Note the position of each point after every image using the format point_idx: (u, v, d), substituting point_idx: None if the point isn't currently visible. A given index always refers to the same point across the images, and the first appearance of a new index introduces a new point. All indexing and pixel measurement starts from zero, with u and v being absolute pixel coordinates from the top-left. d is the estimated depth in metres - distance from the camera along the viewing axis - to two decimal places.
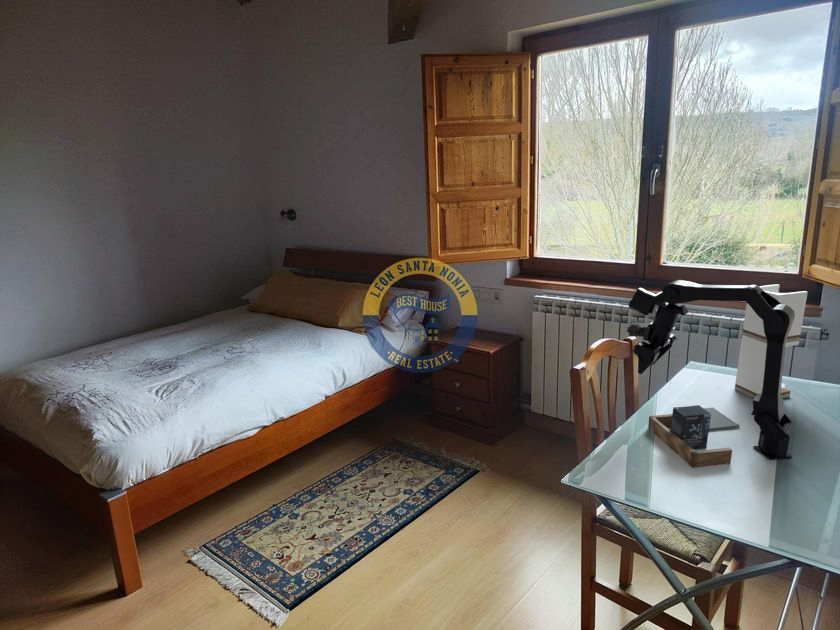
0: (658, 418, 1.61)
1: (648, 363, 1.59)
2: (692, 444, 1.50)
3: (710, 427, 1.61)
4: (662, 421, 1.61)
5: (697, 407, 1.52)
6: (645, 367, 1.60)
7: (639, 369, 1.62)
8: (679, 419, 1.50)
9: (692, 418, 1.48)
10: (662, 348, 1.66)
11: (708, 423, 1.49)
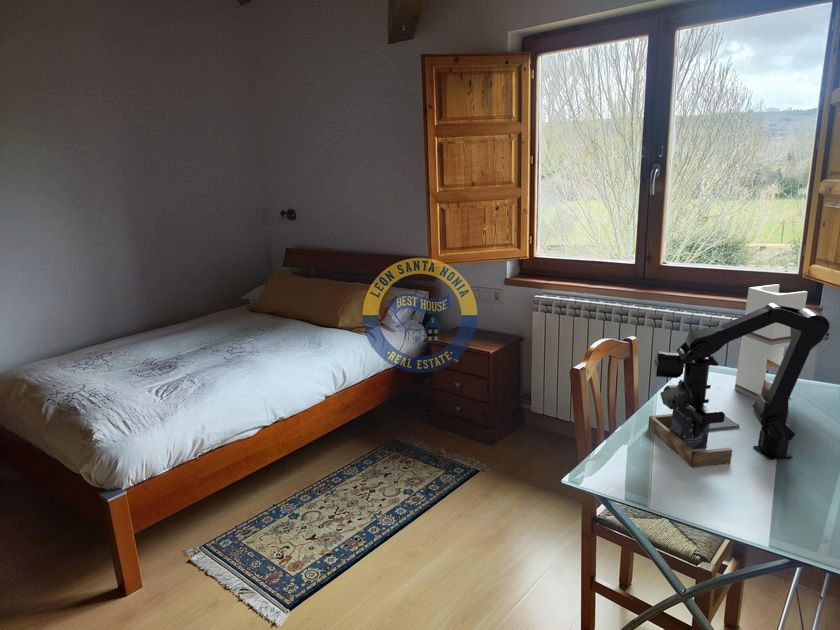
0: (658, 418, 1.61)
1: None
2: (692, 444, 1.50)
3: (710, 427, 1.61)
4: (662, 421, 1.61)
5: None
6: (703, 428, 1.48)
7: (697, 433, 1.48)
8: (679, 419, 1.50)
9: None
10: (688, 405, 1.54)
11: None
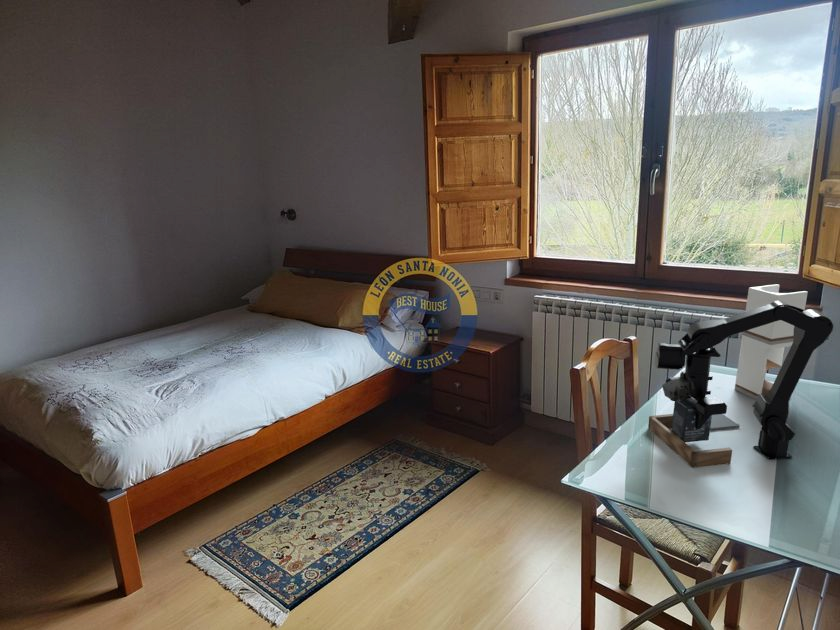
0: (658, 418, 1.61)
1: (709, 414, 1.46)
2: (695, 436, 1.49)
3: (710, 427, 1.61)
4: (662, 421, 1.61)
5: None
6: (705, 420, 1.47)
7: (699, 425, 1.48)
8: (681, 411, 1.49)
9: None
10: None
11: None
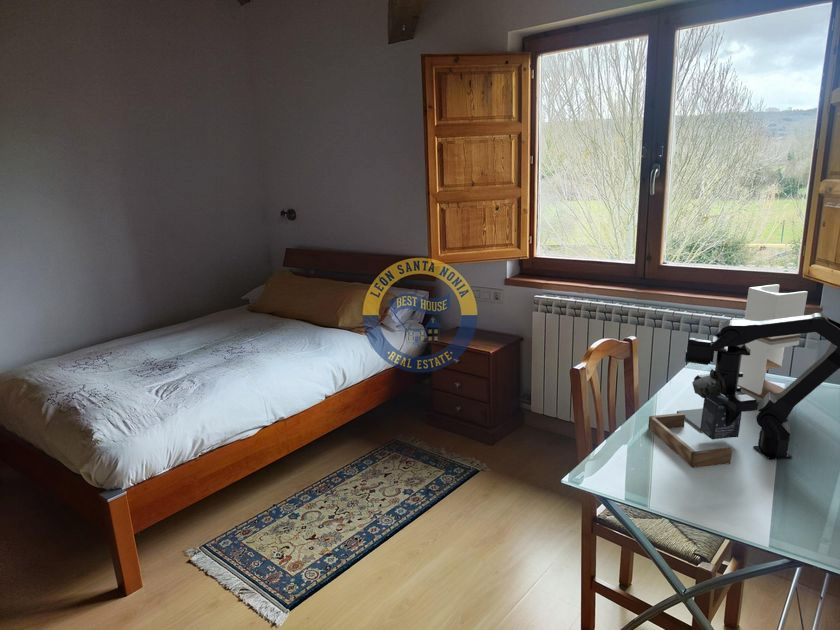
0: (658, 418, 1.61)
1: (739, 411, 1.47)
2: (725, 432, 1.50)
3: None
4: (662, 421, 1.61)
5: None
6: (735, 416, 1.48)
7: (729, 422, 1.49)
8: (711, 408, 1.50)
9: None
10: None
11: None
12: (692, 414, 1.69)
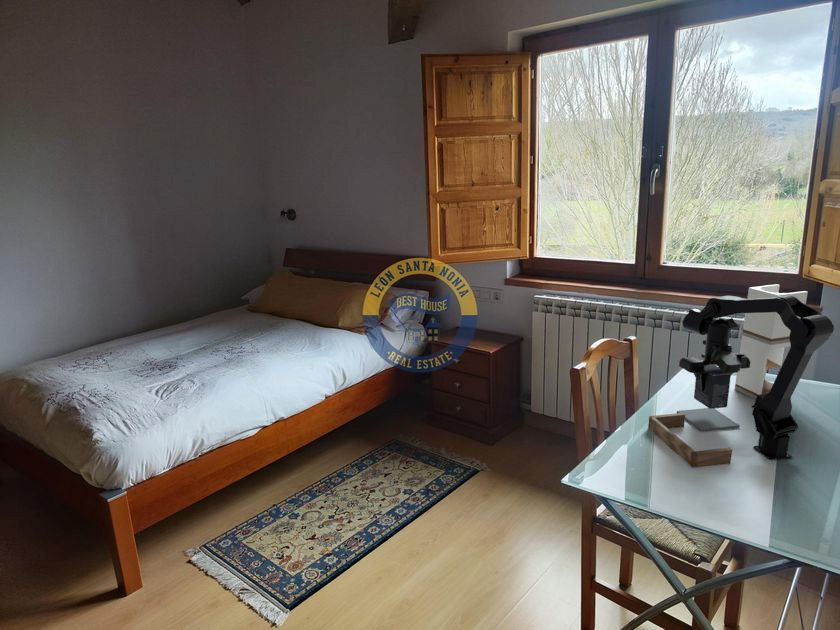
0: (658, 418, 1.61)
1: None
2: None
3: (710, 427, 1.61)
4: (662, 421, 1.61)
5: None
6: None
7: None
8: (724, 380, 1.59)
9: None
10: None
11: None
12: (692, 414, 1.69)
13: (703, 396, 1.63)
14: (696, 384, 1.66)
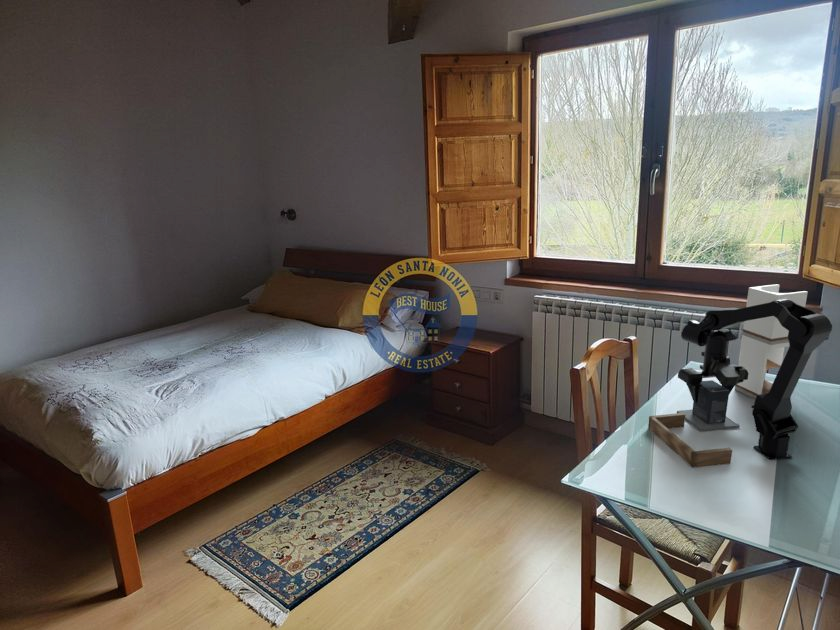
0: (658, 418, 1.61)
1: None
2: None
3: (710, 427, 1.61)
4: (662, 421, 1.61)
5: (703, 382, 1.65)
6: None
7: None
8: (722, 396, 1.60)
9: None
10: None
11: None
12: (692, 414, 1.69)
13: (701, 411, 1.64)
14: None
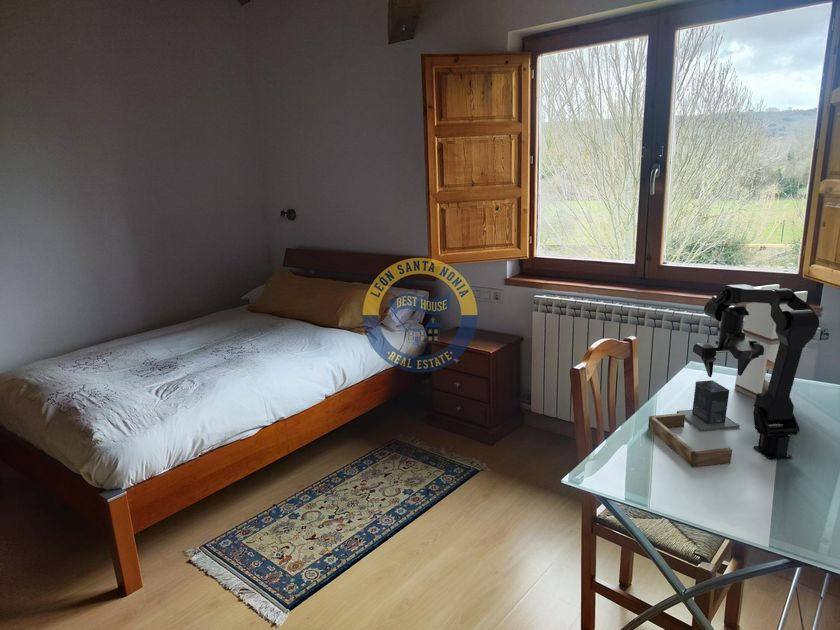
0: (658, 418, 1.61)
1: None
2: None
3: (710, 427, 1.61)
4: (662, 421, 1.61)
5: (703, 382, 1.65)
6: None
7: None
8: (722, 396, 1.60)
9: None
10: None
11: None
12: (692, 414, 1.69)
13: (701, 411, 1.64)
14: (695, 399, 1.67)
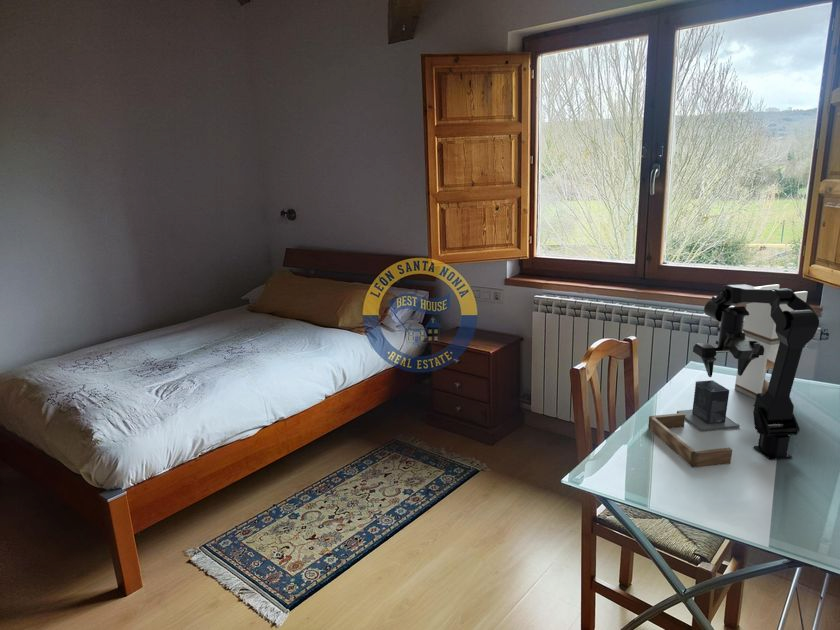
0: (658, 418, 1.61)
1: None
2: None
3: (710, 427, 1.61)
4: (662, 421, 1.61)
5: (703, 382, 1.65)
6: None
7: None
8: (722, 396, 1.60)
9: None
10: None
11: None
12: (692, 414, 1.69)
13: (701, 411, 1.64)
14: (695, 399, 1.67)
